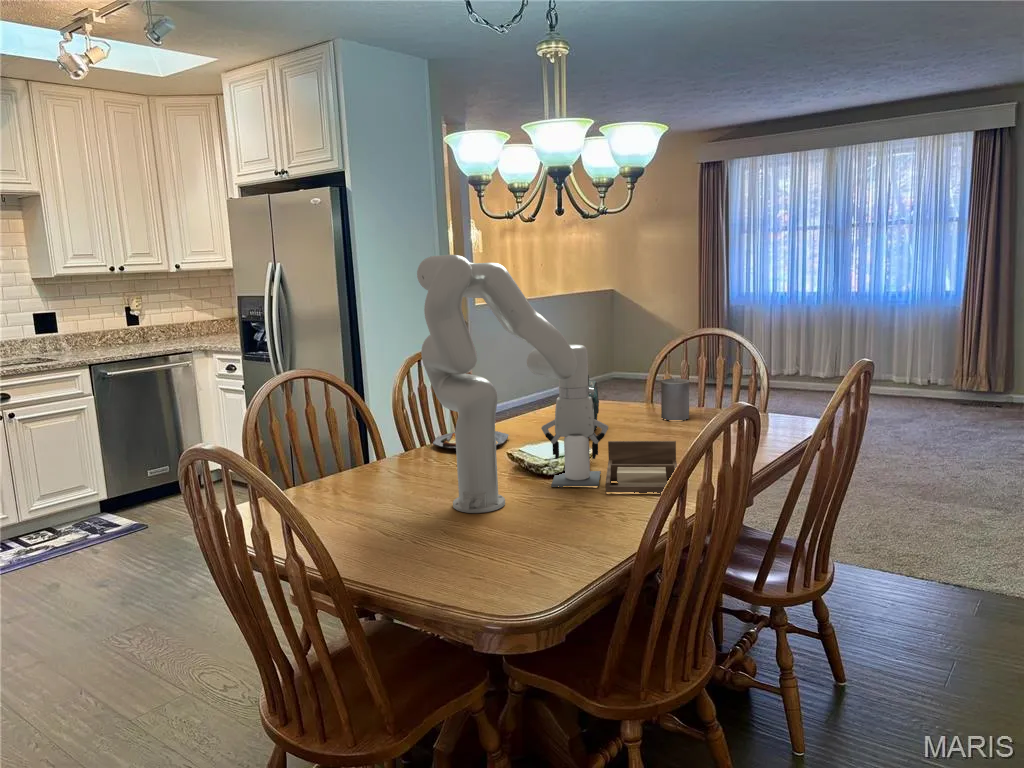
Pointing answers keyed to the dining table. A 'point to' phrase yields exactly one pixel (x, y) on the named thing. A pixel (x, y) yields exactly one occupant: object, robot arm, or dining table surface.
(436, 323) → the robot arm
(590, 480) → the mat
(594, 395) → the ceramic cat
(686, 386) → the pillar candle
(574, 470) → the can
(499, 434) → the food plate
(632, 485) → the offcut lower
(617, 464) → the open wooden box
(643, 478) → the offcut upper
